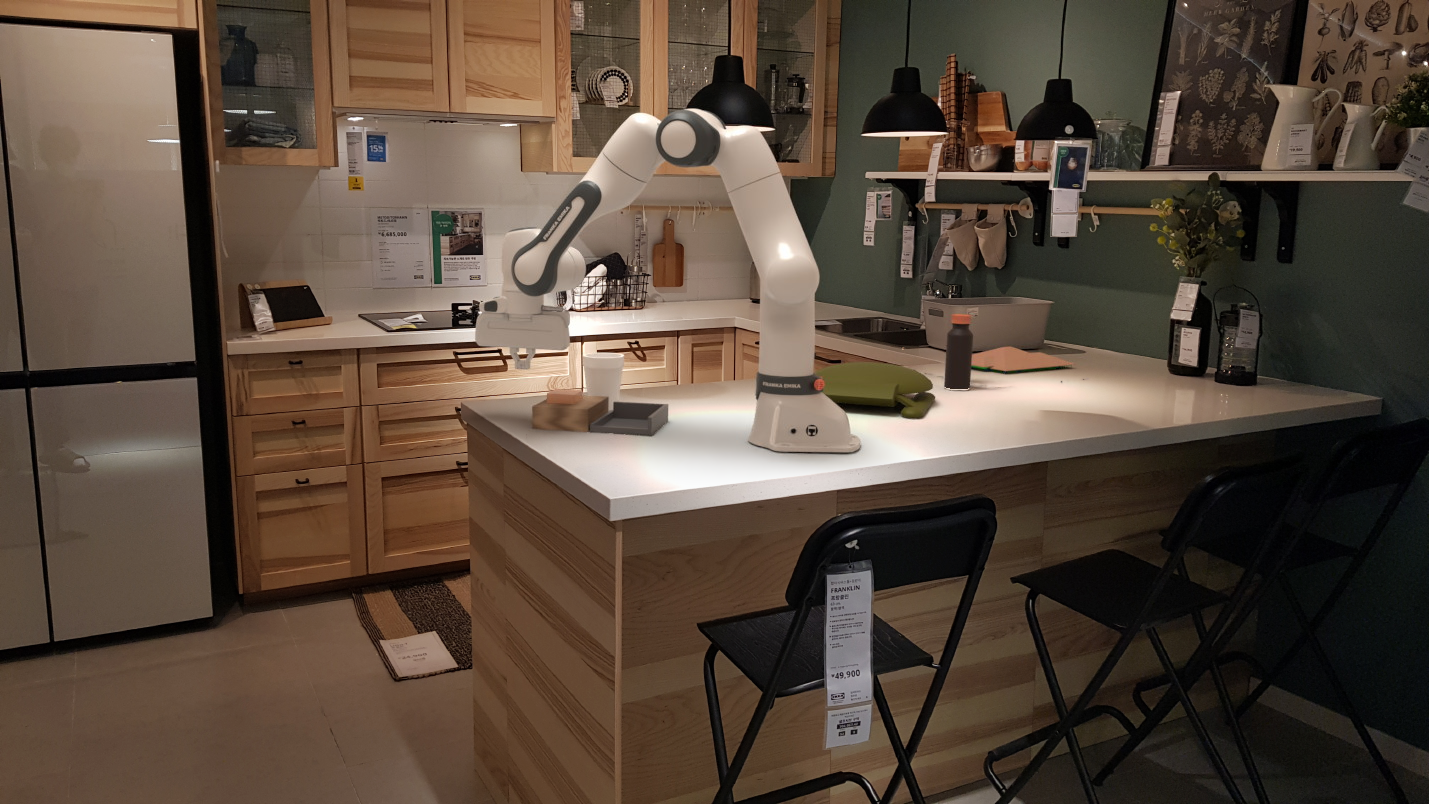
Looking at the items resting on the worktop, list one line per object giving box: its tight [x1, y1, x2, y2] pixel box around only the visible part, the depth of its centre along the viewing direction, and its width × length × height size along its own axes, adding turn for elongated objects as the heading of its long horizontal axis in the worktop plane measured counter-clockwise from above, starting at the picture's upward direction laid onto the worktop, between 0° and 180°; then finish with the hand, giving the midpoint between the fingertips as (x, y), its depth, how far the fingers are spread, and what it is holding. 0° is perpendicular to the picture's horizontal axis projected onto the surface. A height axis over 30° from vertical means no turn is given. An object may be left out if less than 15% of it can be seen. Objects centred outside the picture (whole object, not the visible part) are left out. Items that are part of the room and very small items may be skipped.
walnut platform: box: [531, 394, 609, 433], centre depth 231 cm, size 12×16×5 cm
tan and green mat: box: [971, 346, 1076, 375], centre depth 323 cm, size 23×33×8 cm
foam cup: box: [582, 352, 625, 411], centre depth 246 cm, size 10×9×13 cm
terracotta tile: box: [546, 388, 583, 404], centre depth 231 cm, size 6×6×2 cm
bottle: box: [943, 313, 974, 389], centre depth 287 cm, size 7×7×20 cm
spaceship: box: [814, 361, 936, 419], centre depth 265 cm, size 35×31×10 cm
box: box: [589, 401, 669, 437], centre depth 229 cm, size 13×16×4 cm
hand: (522, 368), depth 231 cm, fingers closed
